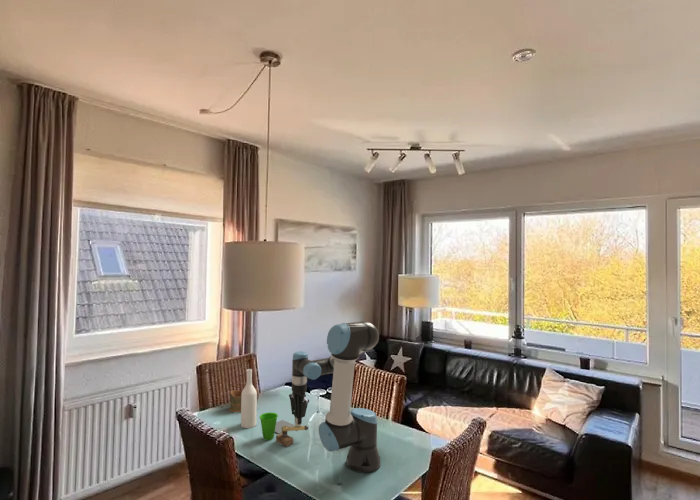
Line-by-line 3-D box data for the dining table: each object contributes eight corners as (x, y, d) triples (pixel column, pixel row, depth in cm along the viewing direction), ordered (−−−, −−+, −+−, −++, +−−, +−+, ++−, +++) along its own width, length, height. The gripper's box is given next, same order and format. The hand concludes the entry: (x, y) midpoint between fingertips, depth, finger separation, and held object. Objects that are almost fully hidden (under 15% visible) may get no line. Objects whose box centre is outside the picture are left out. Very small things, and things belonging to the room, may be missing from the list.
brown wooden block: (293, 443, 190) (293, 434, 190) (286, 446, 187) (286, 437, 187) (282, 438, 196) (282, 429, 196) (276, 441, 192) (276, 432, 193)
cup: (273, 443, 191) (273, 420, 191) (256, 441, 193) (256, 418, 193) (280, 434, 200) (280, 413, 200) (263, 433, 202) (264, 411, 202)
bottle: (245, 429, 205) (245, 372, 206) (238, 424, 211) (239, 369, 212) (259, 425, 211) (259, 369, 211) (252, 420, 217) (252, 366, 217)
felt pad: (296, 426, 209) (296, 426, 209) (279, 434, 200) (279, 433, 200) (282, 420, 217) (282, 419, 217) (264, 427, 208) (264, 426, 208)
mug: (256, 413, 227) (256, 392, 227) (225, 412, 227) (226, 392, 228) (260, 405, 239) (261, 385, 239) (232, 405, 239) (232, 385, 239)
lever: (281, 433, 191) (281, 428, 191) (281, 430, 194) (281, 425, 194) (308, 431, 193) (308, 426, 193) (308, 428, 196) (308, 424, 196)
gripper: (313, 384, 195) (312, 431, 195) (296, 378, 203) (295, 423, 203) (302, 388, 189) (300, 436, 189) (285, 381, 197) (283, 428, 197)
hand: (297, 429), depth 196 cm, fingers closed
